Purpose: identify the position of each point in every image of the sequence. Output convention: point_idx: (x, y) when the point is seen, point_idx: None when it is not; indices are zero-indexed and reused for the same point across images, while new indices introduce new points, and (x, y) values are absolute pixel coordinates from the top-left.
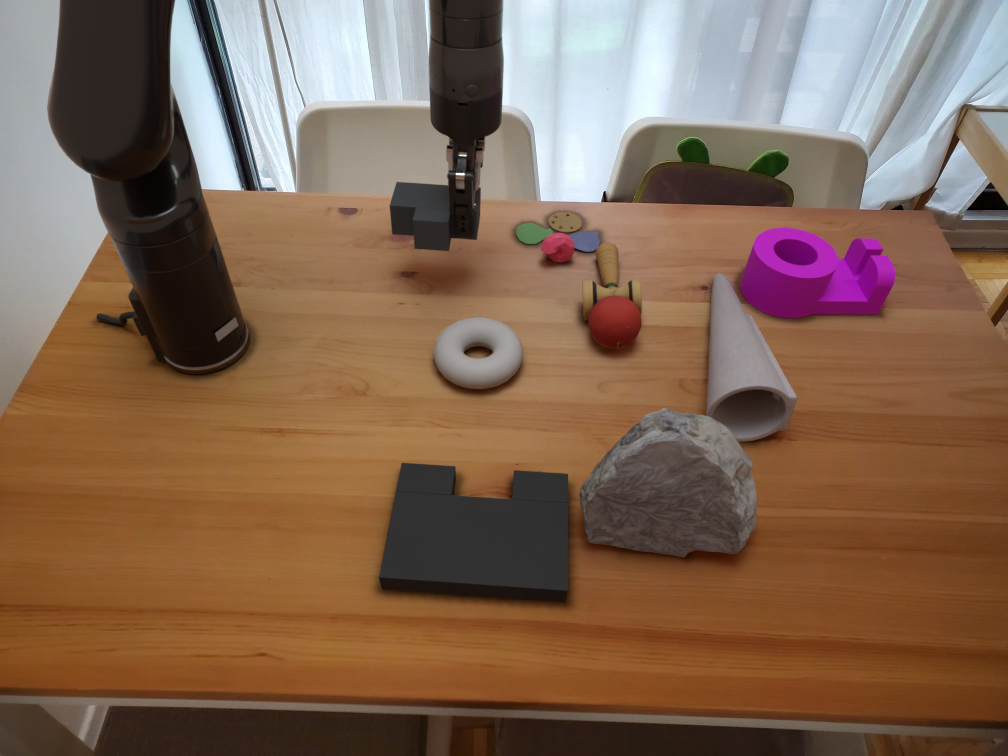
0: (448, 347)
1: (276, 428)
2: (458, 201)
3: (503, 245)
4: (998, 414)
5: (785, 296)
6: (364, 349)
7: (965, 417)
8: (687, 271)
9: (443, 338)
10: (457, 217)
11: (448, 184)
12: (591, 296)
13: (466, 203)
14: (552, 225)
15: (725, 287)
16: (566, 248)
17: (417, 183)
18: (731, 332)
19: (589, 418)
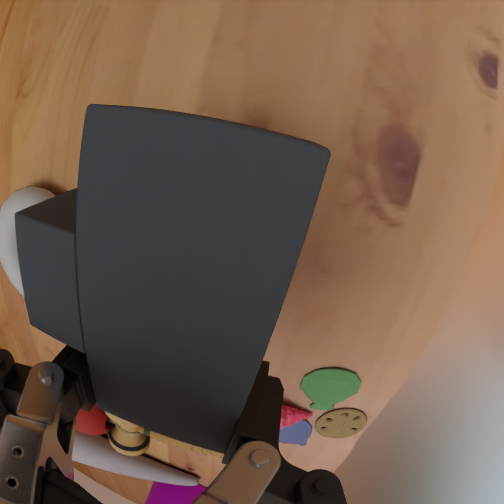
0: (10, 214)
1: (9, 18)
2: (16, 396)
3: (313, 344)
4: (98, 482)
5: (149, 493)
6: (73, 76)
7: (92, 475)
8: (215, 471)
9: (22, 208)
10: (58, 355)
11: (5, 421)
12: (105, 412)
13: (9, 407)
14: (337, 412)
15: (161, 481)
16: None
17: (287, 275)
18: (79, 457)
19: (19, 325)
